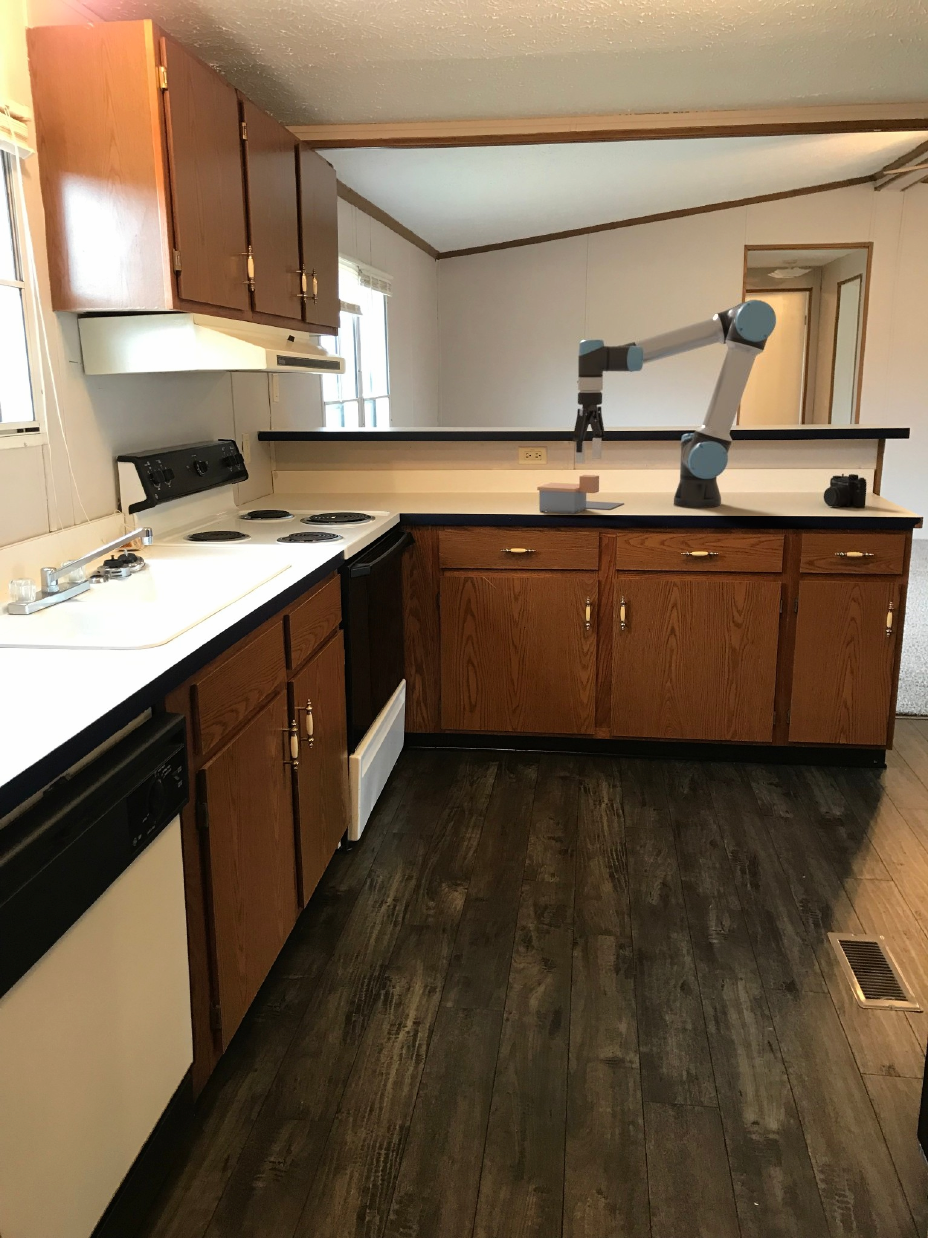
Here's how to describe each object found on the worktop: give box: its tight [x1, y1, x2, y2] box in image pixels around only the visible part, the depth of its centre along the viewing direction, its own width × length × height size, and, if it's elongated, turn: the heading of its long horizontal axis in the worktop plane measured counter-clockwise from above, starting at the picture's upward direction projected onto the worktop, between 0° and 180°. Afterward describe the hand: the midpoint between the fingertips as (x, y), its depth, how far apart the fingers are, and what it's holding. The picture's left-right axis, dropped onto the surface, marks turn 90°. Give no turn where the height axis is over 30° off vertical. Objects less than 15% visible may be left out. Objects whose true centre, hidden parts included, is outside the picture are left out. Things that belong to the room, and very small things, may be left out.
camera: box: [823, 473, 868, 509], centre depth 314 cm, size 14×11×10 cm
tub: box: [538, 490, 587, 515], centre depth 318 cm, size 12×10×7 cm
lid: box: [536, 474, 600, 494], centre depth 316 cm, size 18×11×5 cm, turn 61°
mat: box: [586, 500, 625, 511], centre depth 328 cm, size 17×13×1 cm
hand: (588, 460), depth 311 cm, fingers open, 13 cm apart
